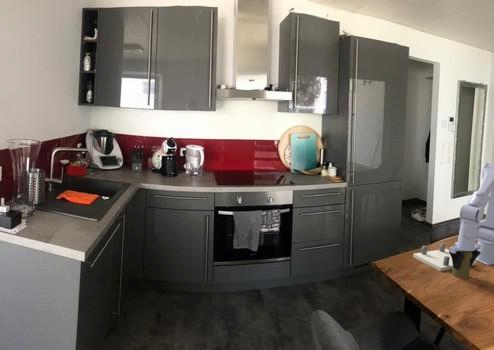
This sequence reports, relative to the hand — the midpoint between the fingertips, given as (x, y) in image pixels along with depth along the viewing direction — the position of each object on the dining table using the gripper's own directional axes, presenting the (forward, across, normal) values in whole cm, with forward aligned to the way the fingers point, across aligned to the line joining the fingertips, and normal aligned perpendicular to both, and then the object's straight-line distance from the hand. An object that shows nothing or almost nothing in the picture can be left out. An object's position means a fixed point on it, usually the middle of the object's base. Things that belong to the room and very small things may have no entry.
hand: (461, 267), depth 132 cm
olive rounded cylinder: (+4, 0, 0) cm, 4 cm away
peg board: (+3, -5, -12) cm, 13 cm away
